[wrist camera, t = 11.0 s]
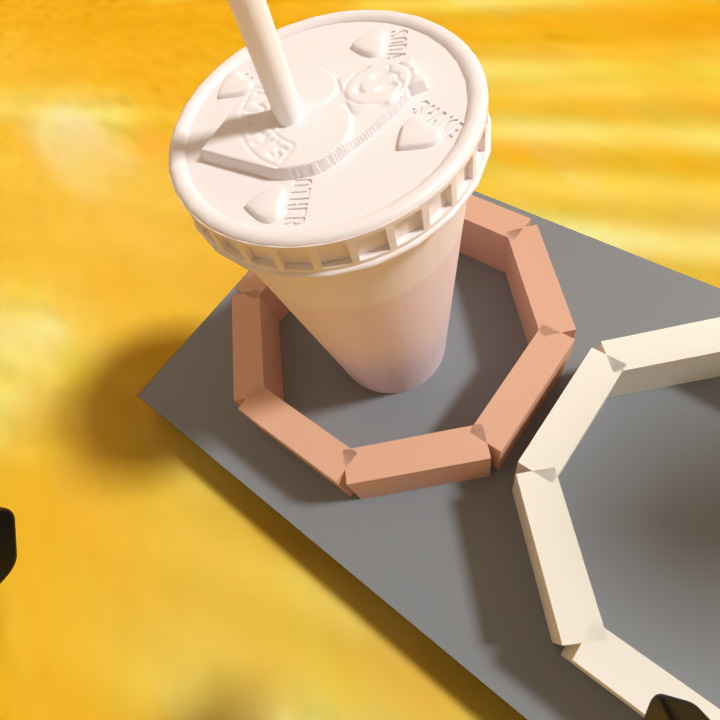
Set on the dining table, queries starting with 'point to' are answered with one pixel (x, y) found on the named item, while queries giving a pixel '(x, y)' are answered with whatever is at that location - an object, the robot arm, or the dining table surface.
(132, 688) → the dining table surface
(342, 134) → the smoothie
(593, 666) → the board
